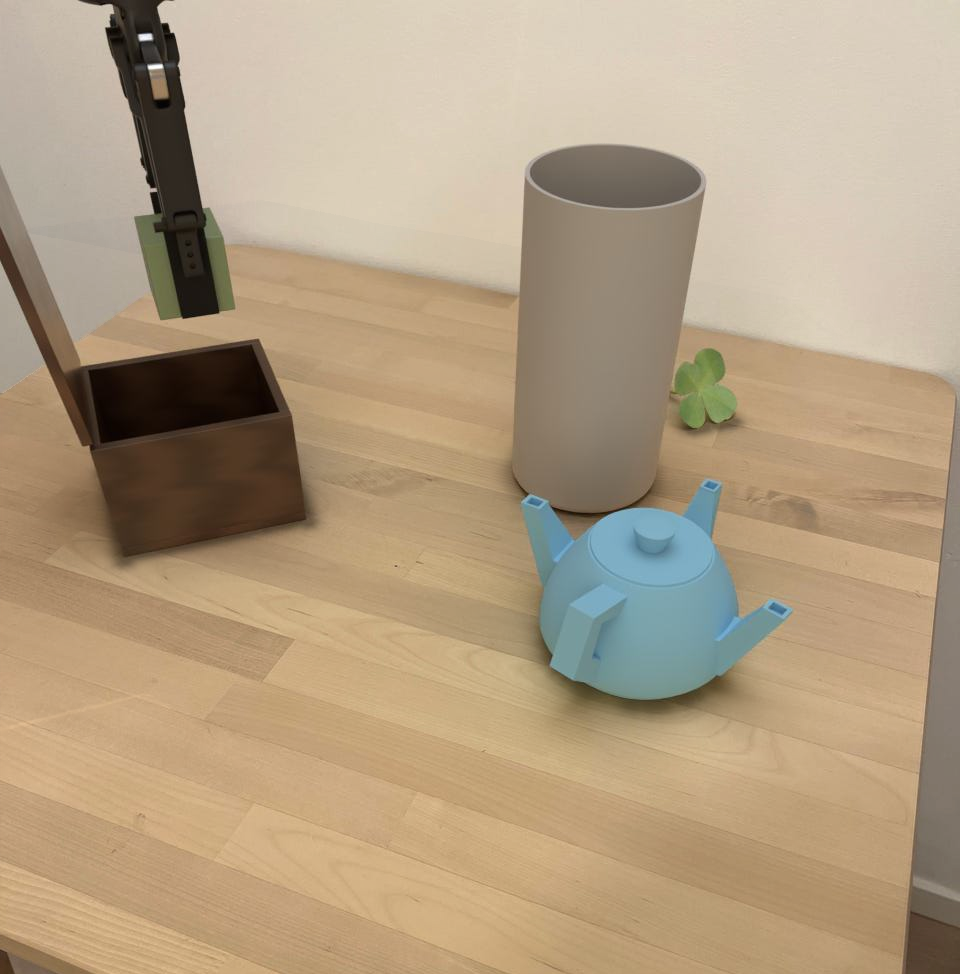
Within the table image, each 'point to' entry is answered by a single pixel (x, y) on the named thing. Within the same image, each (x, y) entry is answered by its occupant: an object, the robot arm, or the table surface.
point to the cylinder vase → (600, 319)
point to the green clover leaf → (704, 389)
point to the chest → (192, 445)
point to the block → (161, 268)
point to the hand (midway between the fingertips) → (193, 295)
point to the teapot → (642, 599)
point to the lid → (42, 312)
